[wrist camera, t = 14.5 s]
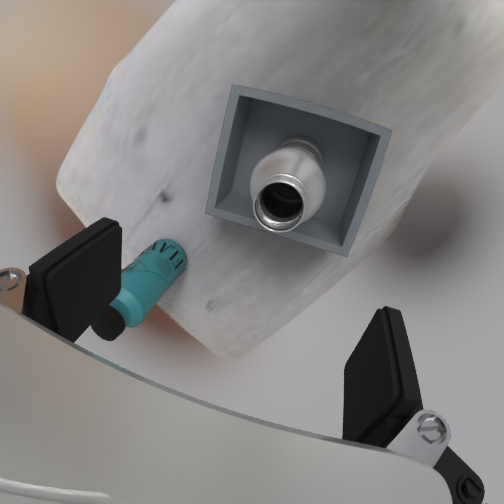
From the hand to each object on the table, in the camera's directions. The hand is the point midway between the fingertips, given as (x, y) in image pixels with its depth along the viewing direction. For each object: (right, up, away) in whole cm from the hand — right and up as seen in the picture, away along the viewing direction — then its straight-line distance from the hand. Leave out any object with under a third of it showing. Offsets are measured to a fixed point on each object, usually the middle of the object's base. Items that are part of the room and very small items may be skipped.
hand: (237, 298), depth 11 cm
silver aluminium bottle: (+6, +13, +28) cm, 32 cm away
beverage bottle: (-12, +2, +39) cm, 41 cm away
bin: (+7, +13, +29) cm, 32 cm away
